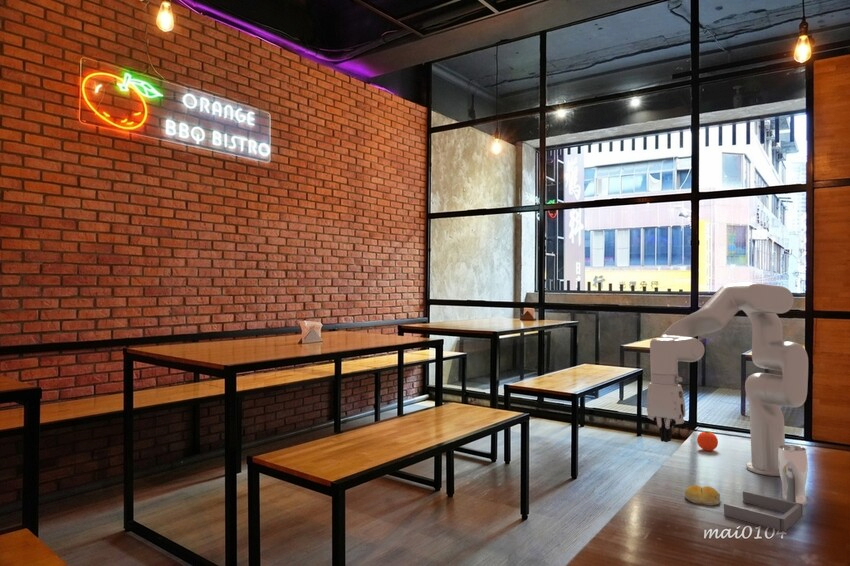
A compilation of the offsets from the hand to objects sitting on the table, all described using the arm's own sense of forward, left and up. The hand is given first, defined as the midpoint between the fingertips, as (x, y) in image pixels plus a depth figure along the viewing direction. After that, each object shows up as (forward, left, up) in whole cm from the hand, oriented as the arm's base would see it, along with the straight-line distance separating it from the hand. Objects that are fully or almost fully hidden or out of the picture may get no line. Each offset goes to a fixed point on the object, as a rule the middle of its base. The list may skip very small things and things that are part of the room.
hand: (665, 440), depth 165 cm
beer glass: (-16, +28, -15) cm, 36 cm away
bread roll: (0, +10, -15) cm, 18 cm away
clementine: (-50, -9, -15) cm, 53 cm away
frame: (0, +26, -15) cm, 30 cm away
